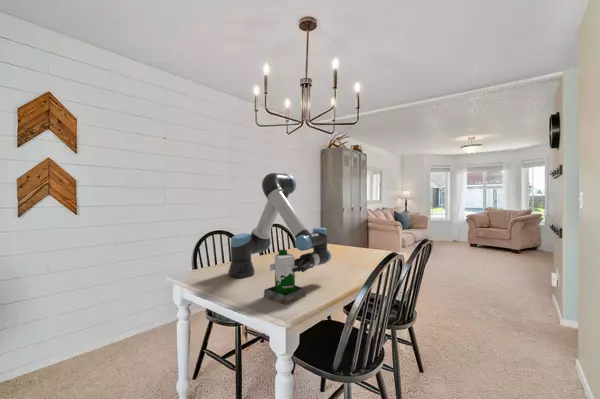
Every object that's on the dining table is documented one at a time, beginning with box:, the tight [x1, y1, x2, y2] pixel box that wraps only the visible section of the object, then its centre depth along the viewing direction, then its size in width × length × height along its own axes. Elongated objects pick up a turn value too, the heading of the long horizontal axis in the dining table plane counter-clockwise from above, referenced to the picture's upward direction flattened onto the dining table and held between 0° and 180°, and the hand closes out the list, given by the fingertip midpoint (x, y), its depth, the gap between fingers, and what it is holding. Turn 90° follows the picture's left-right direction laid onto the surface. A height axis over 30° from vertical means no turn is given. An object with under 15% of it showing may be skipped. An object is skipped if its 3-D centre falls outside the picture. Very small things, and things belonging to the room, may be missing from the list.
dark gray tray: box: [263, 285, 307, 305], centre depth 138 cm, size 14×14×4 cm
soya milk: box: [273, 249, 296, 295], centre depth 138 cm, size 9×9×20 cm
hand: (278, 269), depth 134 cm, fingers open, 10 cm apart
